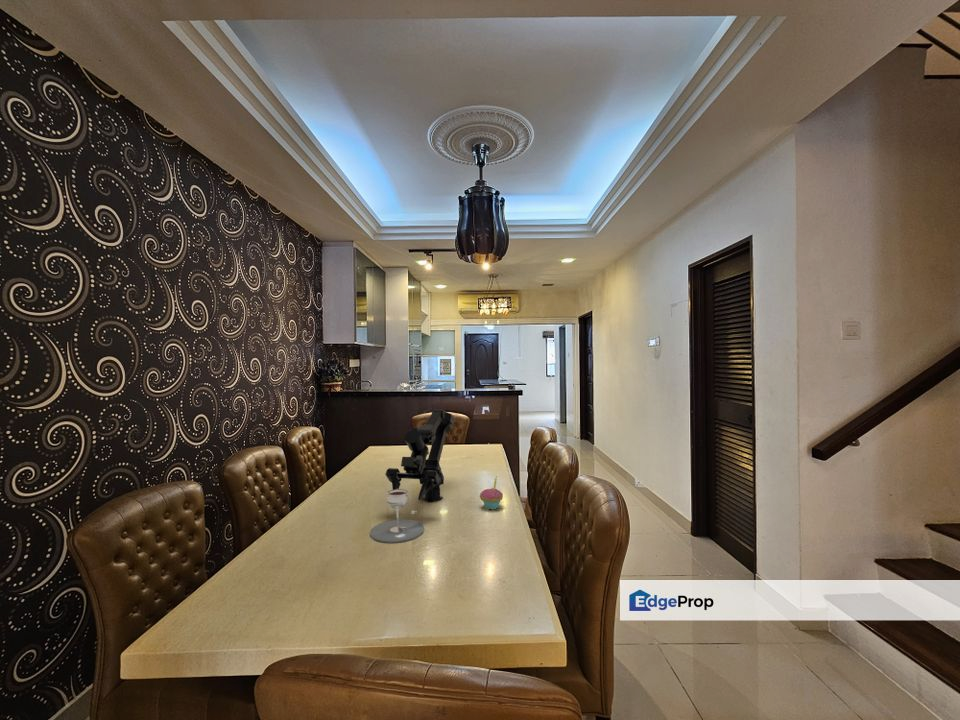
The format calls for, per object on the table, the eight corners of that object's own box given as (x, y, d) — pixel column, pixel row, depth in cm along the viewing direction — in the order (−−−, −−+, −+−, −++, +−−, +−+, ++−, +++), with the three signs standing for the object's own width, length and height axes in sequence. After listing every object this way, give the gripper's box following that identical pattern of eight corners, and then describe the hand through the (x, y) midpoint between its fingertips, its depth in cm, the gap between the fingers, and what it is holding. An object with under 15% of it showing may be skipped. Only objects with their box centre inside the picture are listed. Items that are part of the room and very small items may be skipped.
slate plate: (361, 531, 136) (361, 528, 136) (406, 517, 147) (406, 515, 147) (387, 548, 123) (387, 545, 123) (434, 532, 134) (434, 529, 134)
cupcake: (503, 504, 160) (503, 473, 160) (502, 512, 151) (501, 479, 151) (481, 504, 160) (480, 472, 161) (478, 512, 152) (478, 479, 152)
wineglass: (396, 535, 130) (396, 496, 130) (382, 530, 134) (382, 492, 134) (412, 528, 136) (412, 491, 136) (398, 523, 140) (398, 487, 140)
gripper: (387, 445, 149) (372, 485, 138) (436, 447, 145) (426, 489, 134) (396, 462, 157) (383, 501, 146) (444, 464, 152) (434, 505, 142)
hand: (406, 499), depth 142 cm, fingers open, 9 cm apart
